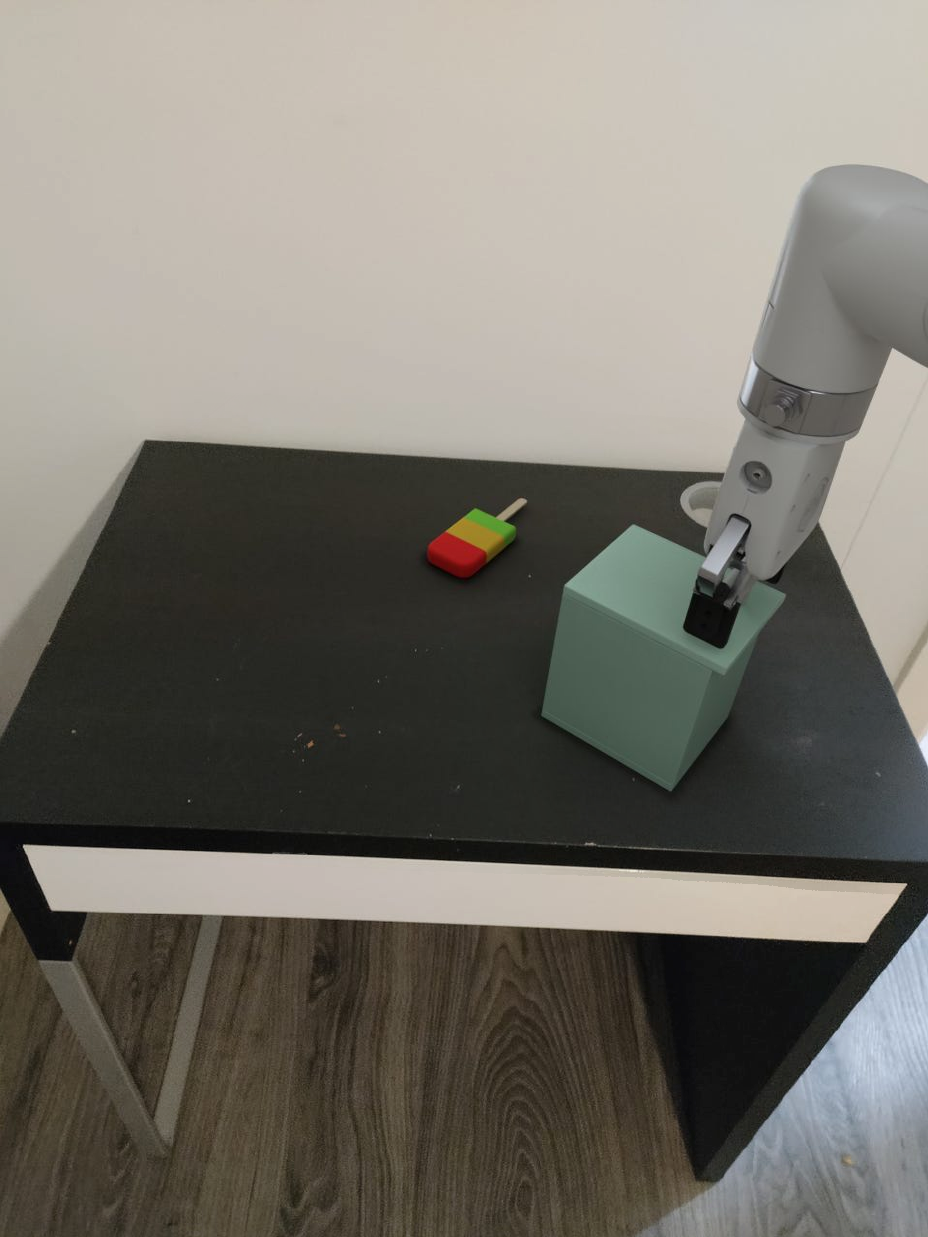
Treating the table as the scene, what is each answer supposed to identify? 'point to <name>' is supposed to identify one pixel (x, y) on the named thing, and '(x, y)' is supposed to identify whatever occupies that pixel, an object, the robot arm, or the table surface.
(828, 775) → the table surface
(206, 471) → the table surface
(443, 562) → the popsicle
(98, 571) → the table surface
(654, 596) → the lid
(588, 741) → the pale green hollow box
